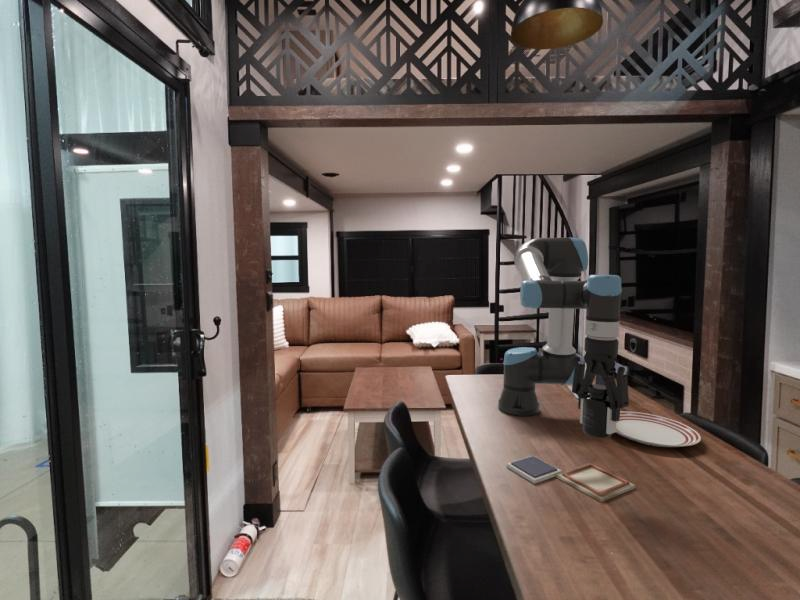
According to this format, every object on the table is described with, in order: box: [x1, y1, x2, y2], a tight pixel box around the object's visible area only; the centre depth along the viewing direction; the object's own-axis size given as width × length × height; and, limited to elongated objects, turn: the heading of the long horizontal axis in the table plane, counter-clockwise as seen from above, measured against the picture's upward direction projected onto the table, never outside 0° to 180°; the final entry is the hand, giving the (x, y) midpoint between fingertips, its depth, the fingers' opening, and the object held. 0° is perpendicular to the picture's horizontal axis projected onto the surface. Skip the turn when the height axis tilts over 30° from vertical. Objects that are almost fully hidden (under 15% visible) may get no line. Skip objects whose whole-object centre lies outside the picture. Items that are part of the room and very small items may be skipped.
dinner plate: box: [615, 411, 702, 448], centre depth 137 cm, size 27×27×3 cm
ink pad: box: [506, 455, 563, 485], centre depth 113 cm, size 10×10×1 cm
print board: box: [556, 462, 636, 503], centre depth 107 cm, size 13×13×1 cm
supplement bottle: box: [582, 383, 613, 439], centre depth 106 cm, size 7×7×12 cm
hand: (597, 427), depth 106 cm, fingers closed on supplement bottle, 7 cm apart
